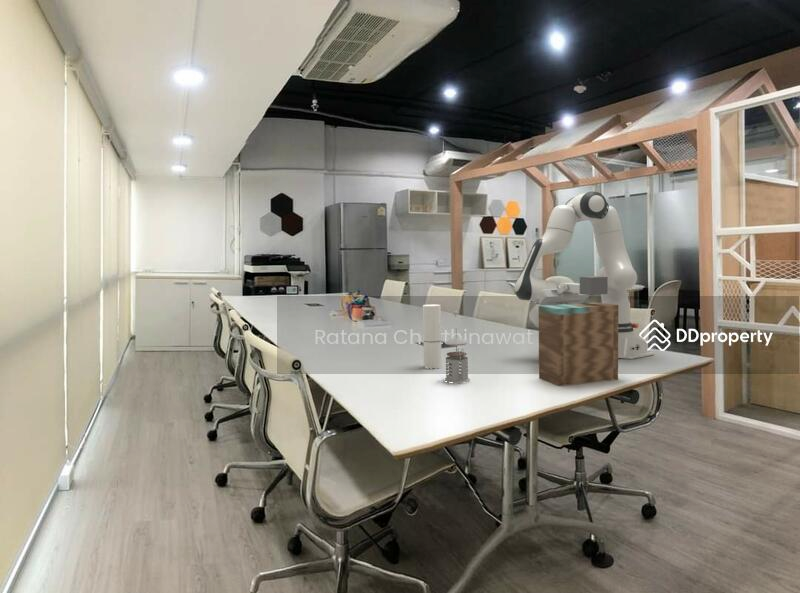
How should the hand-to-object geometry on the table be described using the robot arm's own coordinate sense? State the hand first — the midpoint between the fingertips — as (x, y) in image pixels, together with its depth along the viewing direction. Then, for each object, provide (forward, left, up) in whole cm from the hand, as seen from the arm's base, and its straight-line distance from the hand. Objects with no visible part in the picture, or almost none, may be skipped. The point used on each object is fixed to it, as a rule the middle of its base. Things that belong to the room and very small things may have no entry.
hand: (573, 286), depth 196 cm
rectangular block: (0, +4, -2) cm, 5 cm away
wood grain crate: (+6, +11, -32) cm, 34 cm away
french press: (+46, -3, -32) cm, 56 cm away
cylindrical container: (+46, -28, -32) cm, 63 cm away
